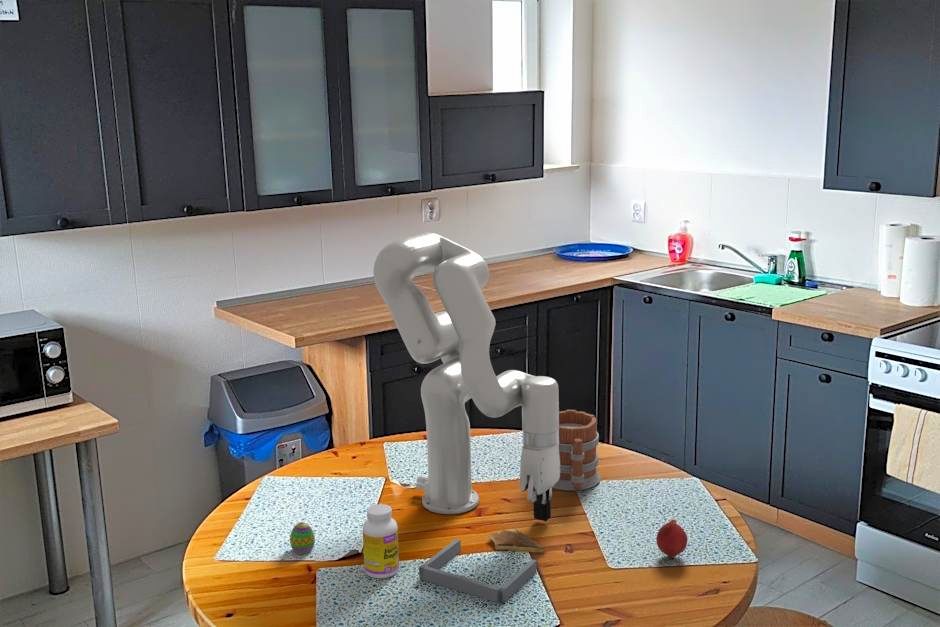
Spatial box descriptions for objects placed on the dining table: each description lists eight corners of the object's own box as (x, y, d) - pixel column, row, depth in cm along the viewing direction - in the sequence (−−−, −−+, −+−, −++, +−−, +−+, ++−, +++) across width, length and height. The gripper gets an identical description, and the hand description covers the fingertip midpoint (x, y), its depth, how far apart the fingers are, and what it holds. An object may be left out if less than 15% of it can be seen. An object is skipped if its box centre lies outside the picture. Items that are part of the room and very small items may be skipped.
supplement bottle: (385, 583, 179) (382, 520, 176) (357, 574, 183) (354, 512, 180) (406, 567, 185) (403, 506, 182) (378, 559, 188) (375, 499, 185)
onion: (668, 567, 182) (669, 528, 181) (649, 554, 187) (650, 516, 186) (692, 559, 185) (694, 521, 183) (673, 547, 190) (674, 510, 188)
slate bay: (419, 579, 180) (419, 567, 180) (456, 550, 191) (456, 538, 190) (502, 604, 171) (502, 591, 170) (536, 572, 182) (536, 560, 181)
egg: (306, 542, 196) (304, 515, 195) (320, 550, 193) (318, 522, 191) (285, 550, 193) (283, 523, 191) (300, 558, 189) (298, 530, 188)
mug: (594, 466, 231) (594, 407, 227) (610, 500, 212) (610, 436, 208) (536, 468, 230) (535, 409, 226) (547, 503, 211) (546, 439, 208)
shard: (545, 555, 189) (545, 547, 189) (513, 565, 185) (513, 557, 185) (515, 534, 198) (515, 526, 198) (483, 543, 194) (483, 535, 194)
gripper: (541, 422, 205) (542, 501, 210) (507, 445, 193) (509, 529, 197) (573, 427, 202) (573, 508, 206) (540, 451, 189) (541, 537, 194)
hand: (542, 518), depth 202 cm, fingers closed
